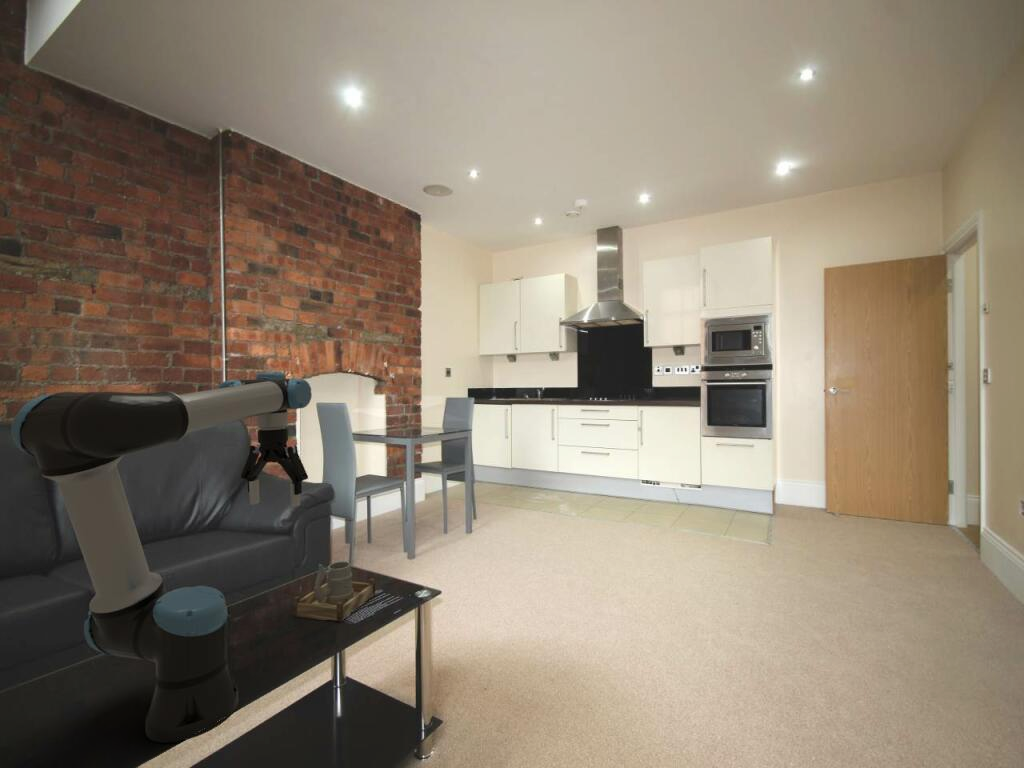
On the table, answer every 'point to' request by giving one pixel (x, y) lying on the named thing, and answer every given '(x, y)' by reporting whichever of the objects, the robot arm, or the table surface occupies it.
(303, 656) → the table surface
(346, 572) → the mug
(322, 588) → the wooden tray
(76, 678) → the table surface
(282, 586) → the table surface
